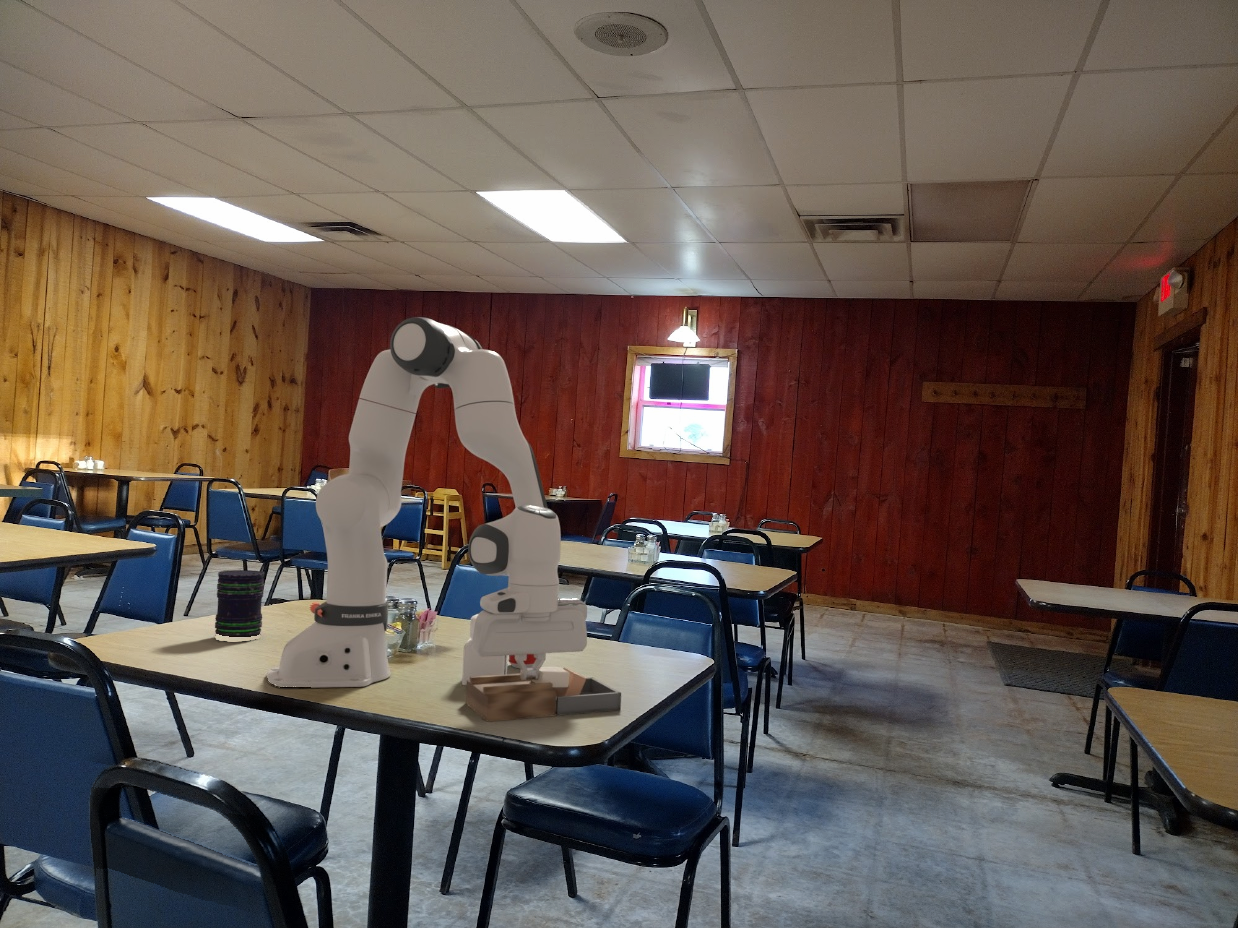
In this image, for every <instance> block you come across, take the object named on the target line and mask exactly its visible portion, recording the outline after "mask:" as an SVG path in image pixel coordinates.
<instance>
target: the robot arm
mask: <svg viewBox="0 0 1238 928" xmlns="http://www.w3.org/2000/svg"><path fill="white" fill-rule="evenodd" d="M389 342H390V343H389V349H385V350H383V351H380V352H379V353H378V354H377V355H376V357H375V358H374V360H373V362H372V363H371V366H370V368H369V371H368V373H367V375H366V378H365V379H364V383H363V385H362V388H361V391H360V394H359V399H358V401H357V405H356V409H355V413H354V415H353V419H352V420H353V421H352V424H351V425H350V426H351V427H350V431H349V434H348V443H349V449H350V451H349V452H350V453H349V469H348V473H347V474H346V473H345V474H340V475H338V476H336V477H334V478H332V479H331V480H329V481H328V482H326V483H325V484H324V485H323V486H322V487H321V488H320V490H319V491H318V493H317V496H316V500H315V510H316V513H317V516H318V518H319V519H320V522H321V523H322V528H323V536H324V542H325V543H324V544H325V550H326V558H327V576H326V577H327V581H326V601H324V602H322V603H321V604H320V603H318V601H317V602H316V601H315V602H312V603H311V604H310V605H309V606H310V607H309V611H310V612H311V613H312V614H313V615H314V616H313V619H314V621H315V622H313V623H312V624H311V625H308V626H307V627H306V628H305V629H304V630H302V631H301V632H299V633H298V634H297V635H295V636H294V637H293V638H291V639H289V641H287V643H286V644H285V646H284V648H283V650H282V654H281V656H280V660H279V666H274V667H272V668H269V670H268V671H267V674H266V679H267V678H268V680H269V681H270V682H271V683H273V684H276V685H277V686H282V687H283V686H284V687H286V686H287V687H293V686H294V687H295V686H296V687H311V688H350V687H351V688H353V687H357V688H358V687H359V688H360V687H366V686H368V685H371V684H373V683H375V682H379V681H382V680H383V681H384V680H385V679H388V678H389V677H391V675H392V674H391V669H390V665H389V660H388V652H387V643H386V642H387V641H386V632H387V627H388V623H389V622H388V620H389V608H388V607H389V606H388V602H386V601H387V597H386V596H387V583H388V582H387V581H388V559H387V557H386V555H385V551H384V545H383V538H382V530H381V529H382V528H383V527H384V526H386V525H388V524H390V523H391V521H393V519H395V518H396V516H397V515H398V514H399V512H400V510H401V508H402V502H403V501H402V499H403V498H402V489H403V479H404V469H405V459H406V454H407V448H408V444H409V441H410V437H411V433H412V431H413V426H414V422H415V419H416V415H417V411H418V407H419V404H420V399H421V398H422V395H423V393H424V391H425V390H426V389H427V388H429V386H432V385H433V386H434V388H436V389H445V388H451V392H452V396H453V397H452V398H453V409H454V421H455V427H456V432H457V435H458V438H459V440H460V442H461V444H462V445H463V447H465V449H466V450H468V451H469V452H470V453H471V454H473V455H474V456H476V457H478V458H479V459H482V460H484V461H486V462H488V463H489V464H491V465H492V466H494V467H495V468H497V469H498V470H499V471H501V472H502V473H503V475H505V477H506V478H507V481H508V483H509V486H510V490H511V494H512V498H513V503H514V505H515V508H514V509H513V510H512V512H511V513H509V514H508V515H505V517H502V518H499V519H496V520H494V521H490V522H487V523H483V524H479V525H477V527H476V528H475V529H474V530H473V532H472V534H471V536H470V538H469V541H468V542H469V543H468V557H469V560H470V563H471V565H472V566H473V568H474V569H475V570H476V571H477V572H478V573H479V574H481V575H486V576H491V577H492V576H493V577H494V576H508V583H507V584H508V585H507V587H505V588H503V589H500V590H498V591H494V592H492V593H489V594H486V595H484V596H482V597H481V598H480V601H479V604H480V607H481V609H483V610H481V611H480V612H479V613H477V614H478V616H477V618H476V621H475V626H474V633H473V644H472V646H473V650H474V651H475V652H476V653H477V654H478V655H479V656H482V657H486V656H505V655H508V656H509V655H515V660H516V662H517V664H518V665H519V667H520V668H519V669H520V672H519V674H520V678H521V679H522V680H535V679H538V678H539V669H540V668H541V666H543V665H544V663H545V661H546V657H547V654H556V653H557V654H558V653H562V654H563V653H576V652H577V653H578V652H583V651H584V650H585V649H586V647H587V645H588V633H587V622H586V620H587V617H588V606H587V604H586V603H585V602H584V601H583V600H581V599H580V598H572V599H571V598H559V594H560V593H559V592H560V591H559V590H560V588H559V587H560V585H559V584H560V579H559V573H558V567H559V563H560V561H561V549H562V548H561V547H562V546H561V545H562V544H561V542H562V540H561V536H562V534H561V525H560V520H559V517H558V515H557V513H555V512H554V510H552V509H550V508H548V504H547V499H546V494H545V491H544V487H543V482H542V479H541V475H540V471H539V470H540V469H539V466H538V464H537V463H538V462H537V459H536V456H535V454H534V451H533V447H532V446H531V444H530V443H529V441H528V440H527V439H526V437H525V436H524V434H523V432H522V429H521V427H520V424H519V422H518V418H517V414H516V408H515V407H516V405H515V400H514V394H513V389H512V383H511V380H510V376H509V373H508V369H507V366H506V363H505V360H504V359H503V358H502V356H501V355H500V354H499V353H497V352H495V351H492V350H489V349H483V347H482V346H481V344H480V342H478V341H477V340H476V339H475V338H474V337H473V336H471V335H469V334H466V333H465V332H464V331H461V330H460V329H458V328H456V327H454V326H452V325H449V324H444V323H442V322H441V323H440V322H437V321H435V320H433V319H431V318H428V317H423V316H422V317H421V316H417V317H416V316H413V317H408V318H406V319H404V320H402V321H401V322H400V323H399V324H398V325H397V326H396V327H395V328H394V330H393V332H392V334H391V336H390V341H389ZM527 654H534V657H535V658H536V660H535V662H534V664H533V666H532V668H526V666H525V664H524V662H523V660H524V661H526V659H527Z"/></svg>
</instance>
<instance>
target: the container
mask: <svg viewBox="0 0 1238 928" xmlns="http://www.w3.org/2000/svg"><path fill="white" fill-rule="evenodd" d="M478 614H479V613H476V614H475V615H472V616H471V617H470V625H469V626H470V627H469V628H470V629H469V639H468V640H467V641H466V643H464V645H463V656H462V657H463V658H462V677H461V684H462V686H465V687H466V684H467V680H470V677H472V676H488V675H504V674H508V662H509V655H505V656H486V657H482V656H479V655H478V654H477V653H476V652H475V651H474V650H473V646H472V644H473V633H474V626H475V621H476V618H477V616H478Z"/></svg>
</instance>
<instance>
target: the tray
mask: <svg viewBox="0 0 1238 928" xmlns="http://www.w3.org/2000/svg"><path fill="white" fill-rule="evenodd" d="M585 678H586V681H585V683H584V685H583V688H582V690H581V692H580V695H575V696H562V697H557V696H556V706H555V716H567V715H579V714H588V713H589V714H590V713H591V714H592V713H603V712H613V711H621V708H622V707H621V706H622V692H620V691H619V690H616V689H615V688H614V687H611V686H609V685H608V684H605V683H604V682H602V681H601V680H598V679H597V678H595V677H585ZM554 689H555V687H552V690H554Z"/></svg>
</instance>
